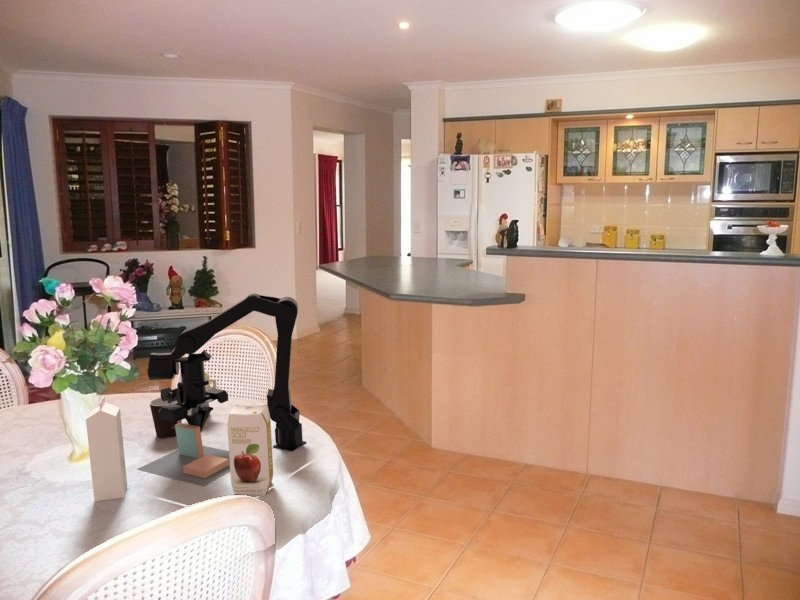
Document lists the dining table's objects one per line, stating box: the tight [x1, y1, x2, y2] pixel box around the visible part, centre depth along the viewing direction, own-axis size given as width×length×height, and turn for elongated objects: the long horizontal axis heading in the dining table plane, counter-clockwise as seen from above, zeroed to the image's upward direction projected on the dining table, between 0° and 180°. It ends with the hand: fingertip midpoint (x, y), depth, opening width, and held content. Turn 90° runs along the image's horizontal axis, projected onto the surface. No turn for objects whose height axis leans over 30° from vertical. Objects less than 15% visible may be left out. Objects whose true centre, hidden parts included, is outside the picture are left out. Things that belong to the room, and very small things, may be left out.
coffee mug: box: [149, 396, 183, 439], centre depth 174 cm, size 12×9×10 cm
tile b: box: [175, 422, 204, 458], centre depth 158 cm, size 7×2×8 cm, turn 63°
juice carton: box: [226, 404, 274, 497], centre depth 138 cm, size 8×9×19 cm
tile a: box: [183, 454, 229, 478], centre depth 149 cm, size 7×2×8 cm
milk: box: [85, 396, 128, 503], centre depth 137 cm, size 6×6×22 cm
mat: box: [136, 445, 230, 487], centre depth 154 cm, size 22×18×1 cm
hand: (197, 436), depth 160 cm, fingers closed
